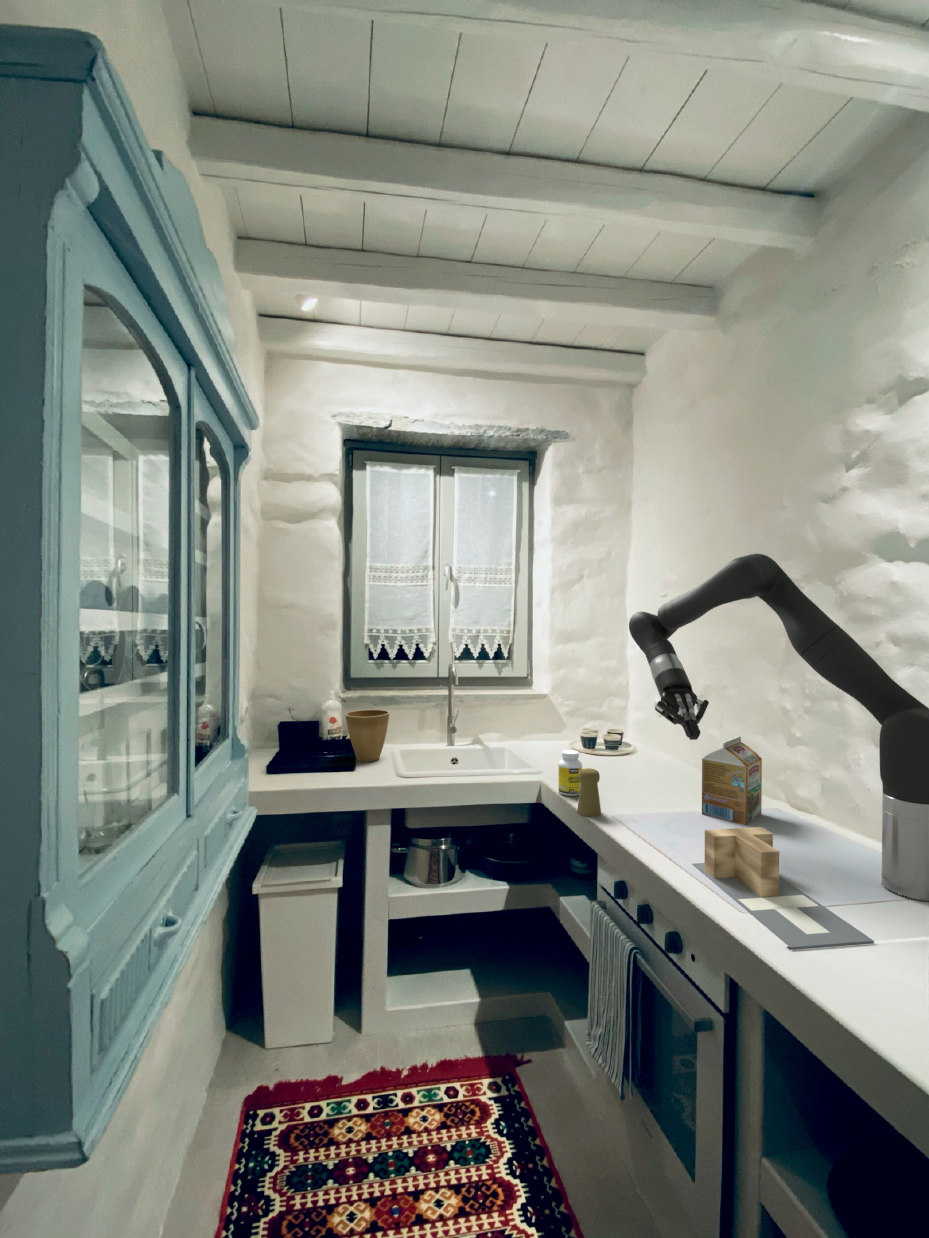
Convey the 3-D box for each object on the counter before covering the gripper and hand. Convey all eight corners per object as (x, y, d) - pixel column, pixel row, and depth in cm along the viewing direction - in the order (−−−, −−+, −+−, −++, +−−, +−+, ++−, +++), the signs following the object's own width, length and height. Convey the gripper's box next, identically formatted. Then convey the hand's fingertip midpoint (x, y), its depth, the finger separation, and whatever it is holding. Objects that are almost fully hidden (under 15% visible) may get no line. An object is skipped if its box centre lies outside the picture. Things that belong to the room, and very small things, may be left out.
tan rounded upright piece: (584, 806, 157) (584, 764, 157) (605, 811, 153) (605, 768, 153) (572, 813, 152) (572, 769, 152) (594, 818, 148) (594, 774, 148)
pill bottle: (563, 797, 165) (563, 755, 164) (555, 790, 171) (555, 749, 171) (585, 795, 166) (585, 754, 166) (576, 789, 172) (576, 748, 172)
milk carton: (719, 804, 158) (719, 732, 158) (761, 814, 151) (762, 739, 150) (701, 814, 151) (702, 739, 151) (745, 825, 143) (745, 746, 143)
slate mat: (756, 861, 123) (756, 859, 123) (873, 943, 93) (873, 940, 93) (691, 865, 121) (691, 863, 121) (790, 949, 91) (790, 947, 91)
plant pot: (391, 753, 214) (390, 708, 214) (387, 764, 200) (387, 716, 199) (348, 754, 214) (348, 709, 213) (342, 765, 199) (342, 716, 198)
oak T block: (761, 866, 119) (761, 826, 119) (800, 894, 108) (801, 850, 108) (704, 870, 118) (704, 829, 118) (738, 898, 106) (738, 853, 106)
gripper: (648, 667, 142) (672, 729, 130) (701, 666, 143) (729, 727, 131) (639, 686, 147) (661, 748, 135) (690, 685, 149) (716, 746, 137)
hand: (695, 737), depth 133 cm, fingers closed
